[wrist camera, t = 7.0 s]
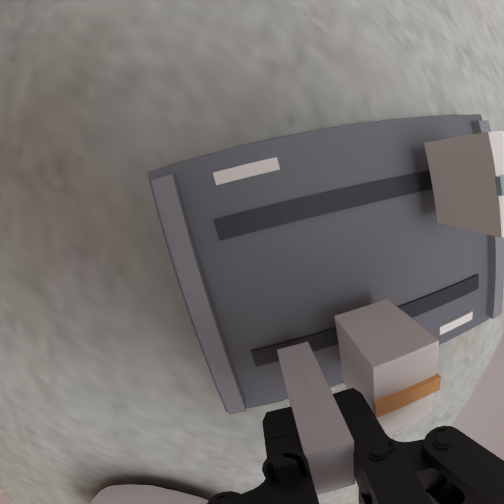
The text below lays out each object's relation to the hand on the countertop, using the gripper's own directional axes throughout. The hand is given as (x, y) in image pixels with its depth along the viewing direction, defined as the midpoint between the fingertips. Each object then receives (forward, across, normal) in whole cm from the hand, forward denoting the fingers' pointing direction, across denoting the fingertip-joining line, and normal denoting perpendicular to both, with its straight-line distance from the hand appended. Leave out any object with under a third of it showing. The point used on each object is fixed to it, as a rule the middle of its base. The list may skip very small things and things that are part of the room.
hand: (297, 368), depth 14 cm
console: (+4, +5, +4) cm, 8 cm away
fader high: (+2, +10, +7) cm, 12 cm away
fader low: (+2, +4, 0) cm, 4 cm away
